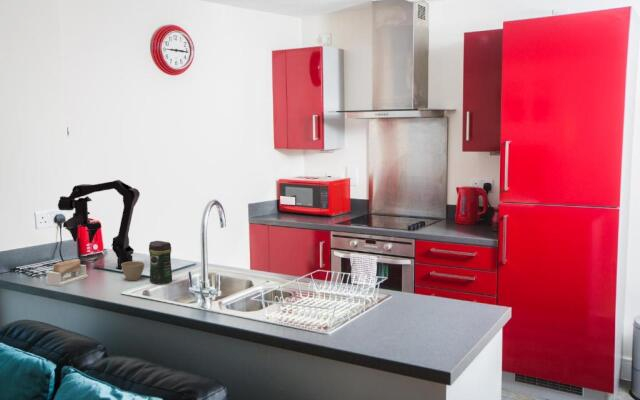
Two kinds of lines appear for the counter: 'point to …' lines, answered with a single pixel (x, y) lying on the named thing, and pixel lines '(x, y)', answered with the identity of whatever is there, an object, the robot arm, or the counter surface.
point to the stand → (66, 277)
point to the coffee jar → (160, 262)
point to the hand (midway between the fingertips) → (82, 242)
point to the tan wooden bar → (67, 266)
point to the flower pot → (132, 269)
